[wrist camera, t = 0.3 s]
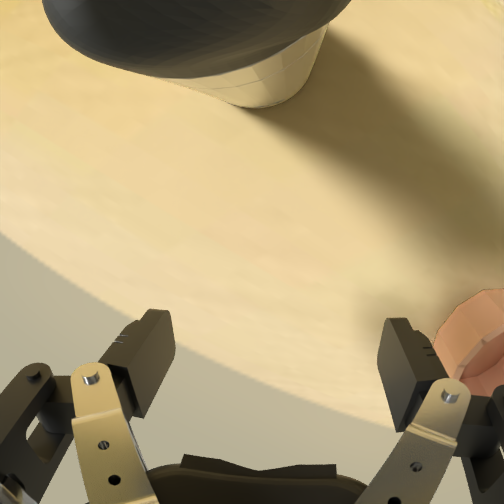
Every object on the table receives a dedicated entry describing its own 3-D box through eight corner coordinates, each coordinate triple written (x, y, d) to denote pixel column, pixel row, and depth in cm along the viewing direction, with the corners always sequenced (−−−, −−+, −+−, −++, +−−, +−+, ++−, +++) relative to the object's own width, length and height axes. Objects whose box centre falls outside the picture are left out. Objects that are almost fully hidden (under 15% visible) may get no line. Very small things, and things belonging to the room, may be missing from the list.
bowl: (447, 292, 28) (471, 324, 23) (531, 286, 27) (558, 311, 21) (420, 384, 33) (433, 420, 28) (499, 371, 31) (517, 400, 26)
